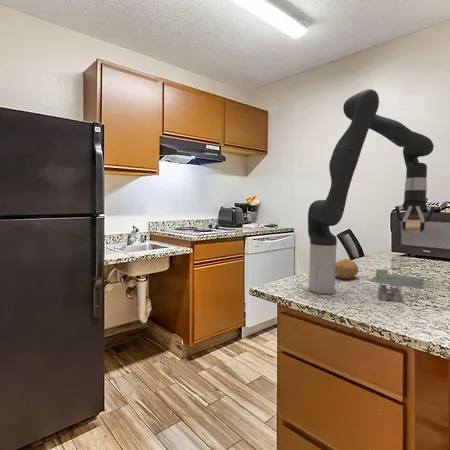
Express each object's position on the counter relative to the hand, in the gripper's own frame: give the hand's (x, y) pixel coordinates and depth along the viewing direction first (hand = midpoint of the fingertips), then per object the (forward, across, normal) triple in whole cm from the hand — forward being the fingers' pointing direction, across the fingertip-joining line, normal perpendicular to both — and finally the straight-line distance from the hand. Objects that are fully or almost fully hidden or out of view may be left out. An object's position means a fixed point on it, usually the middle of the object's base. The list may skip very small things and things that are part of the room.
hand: (413, 231), depth 125 cm
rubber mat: (+21, -4, 0) cm, 22 cm away
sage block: (+21, -10, 0) cm, 23 cm away
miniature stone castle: (+22, -4, -28) cm, 35 cm away
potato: (+22, -23, -10) cm, 33 cm away
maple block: (0, 0, 0) cm, 0 cm away
